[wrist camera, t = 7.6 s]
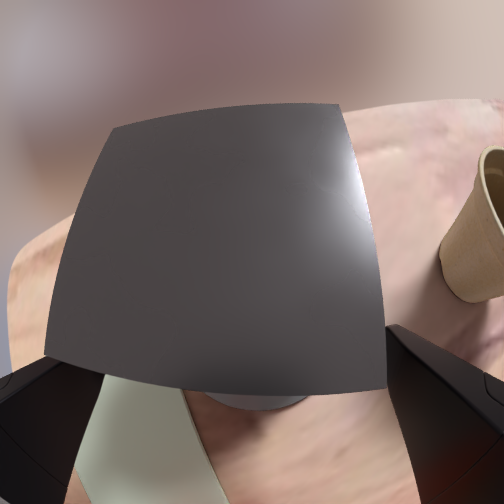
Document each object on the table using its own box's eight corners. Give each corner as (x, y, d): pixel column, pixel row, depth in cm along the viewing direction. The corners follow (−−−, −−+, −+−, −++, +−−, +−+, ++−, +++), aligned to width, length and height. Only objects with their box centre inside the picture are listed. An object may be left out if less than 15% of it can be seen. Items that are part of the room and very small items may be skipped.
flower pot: (498, 337, 13) (575, 307, 5) (411, 306, 16) (488, 253, 8) (502, 237, 16) (554, 184, 9) (424, 199, 19) (468, 123, 11)
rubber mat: (232, 508, 11) (231, 511, 11) (97, 508, 11) (95, 509, 10) (159, 309, 17) (157, 308, 17) (47, 346, 17) (44, 346, 17)
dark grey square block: (310, 374, 14) (386, 388, 3) (200, 371, 15) (43, 354, 4) (308, 269, 17) (338, 104, 6) (207, 270, 18) (113, 128, 7)
